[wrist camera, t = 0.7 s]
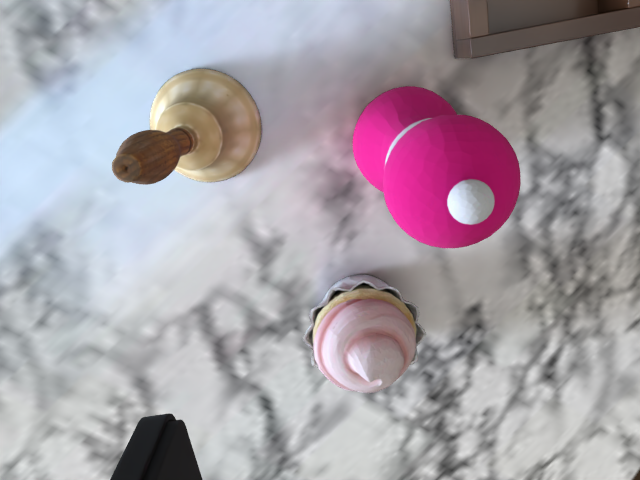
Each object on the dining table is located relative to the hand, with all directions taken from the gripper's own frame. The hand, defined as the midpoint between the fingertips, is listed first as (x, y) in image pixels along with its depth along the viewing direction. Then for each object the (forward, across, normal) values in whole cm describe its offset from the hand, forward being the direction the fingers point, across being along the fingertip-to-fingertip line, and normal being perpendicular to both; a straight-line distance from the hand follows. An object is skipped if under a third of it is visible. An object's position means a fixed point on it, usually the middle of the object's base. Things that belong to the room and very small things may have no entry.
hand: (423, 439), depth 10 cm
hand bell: (+30, +10, -4) cm, 32 cm away
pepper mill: (+30, -4, -1) cm, 31 cm away
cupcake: (+30, +1, +13) cm, 33 cm away
